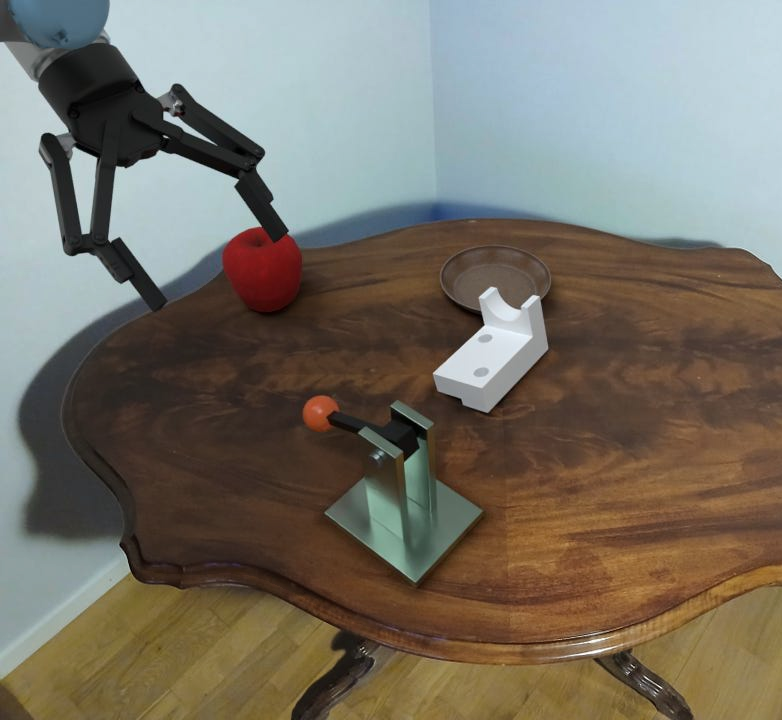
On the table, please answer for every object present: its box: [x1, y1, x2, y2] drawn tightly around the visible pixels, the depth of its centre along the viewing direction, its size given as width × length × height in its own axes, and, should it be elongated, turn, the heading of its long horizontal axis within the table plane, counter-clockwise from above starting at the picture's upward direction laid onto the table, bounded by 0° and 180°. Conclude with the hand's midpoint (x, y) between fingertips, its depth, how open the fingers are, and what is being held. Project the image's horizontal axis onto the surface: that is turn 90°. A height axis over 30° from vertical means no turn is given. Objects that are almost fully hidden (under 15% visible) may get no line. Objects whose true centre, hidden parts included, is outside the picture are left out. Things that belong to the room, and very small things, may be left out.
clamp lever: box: [302, 394, 420, 462], centre depth 68 cm, size 14×4×4 cm, turn 52°
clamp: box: [323, 399, 484, 590], centre depth 67 cm, size 12×10×14 cm
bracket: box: [432, 287, 549, 414], centre depth 85 cm, size 13×7×8 cm, turn 145°
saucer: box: [439, 244, 552, 316], centre depth 97 cm, size 15×15×3 cm
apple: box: [221, 226, 303, 313], centre depth 92 cm, size 10×10×11 cm
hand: (224, 270), depth 67 cm, fingers open, 13 cm apart
